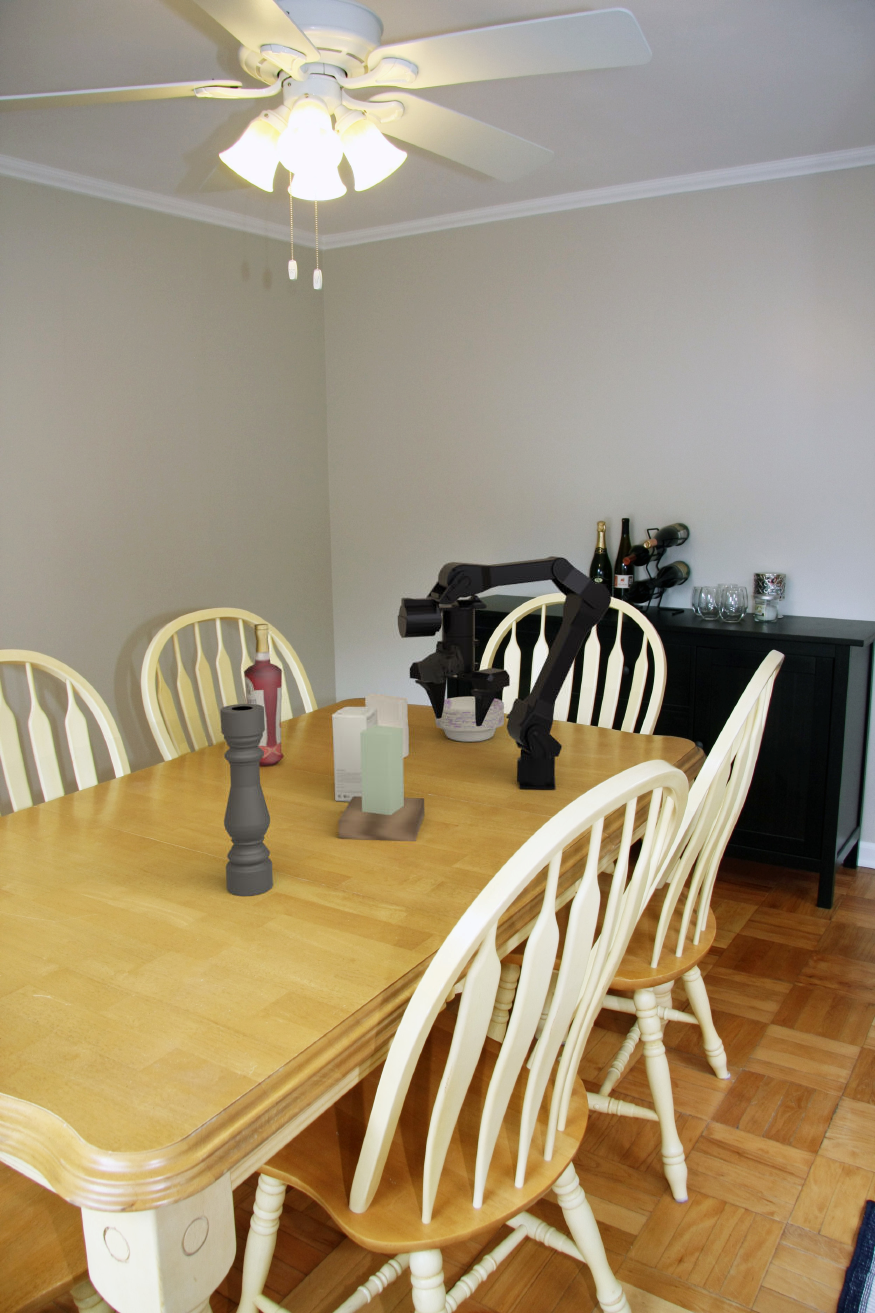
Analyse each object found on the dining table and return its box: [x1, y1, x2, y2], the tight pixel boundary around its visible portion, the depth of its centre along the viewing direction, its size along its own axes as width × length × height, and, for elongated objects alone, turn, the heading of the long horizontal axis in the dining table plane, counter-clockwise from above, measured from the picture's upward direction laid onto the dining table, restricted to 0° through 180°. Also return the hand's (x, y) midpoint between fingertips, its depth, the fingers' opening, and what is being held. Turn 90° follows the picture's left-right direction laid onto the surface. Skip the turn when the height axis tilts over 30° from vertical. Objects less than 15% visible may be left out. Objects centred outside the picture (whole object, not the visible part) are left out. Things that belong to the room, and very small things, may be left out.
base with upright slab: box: [364, 693, 410, 758], centre depth 196 cm, size 9×9×12 cm
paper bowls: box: [434, 696, 505, 743], centre depth 209 cm, size 15×15×8 cm
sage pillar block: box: [360, 725, 405, 815], centre depth 152 cm, size 5×5×13 cm
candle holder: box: [219, 703, 274, 897], centre depth 128 cm, size 6×6×25 cm
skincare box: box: [331, 706, 378, 803], centre depth 168 cm, size 8×7×16 cm
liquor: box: [243, 623, 284, 767], centre depth 188 cm, size 7×7×28 cm
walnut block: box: [337, 796, 425, 842], centre depth 153 cm, size 12×12×3 cm
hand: (458, 722), depth 169 cm, fingers open, 9 cm apart
